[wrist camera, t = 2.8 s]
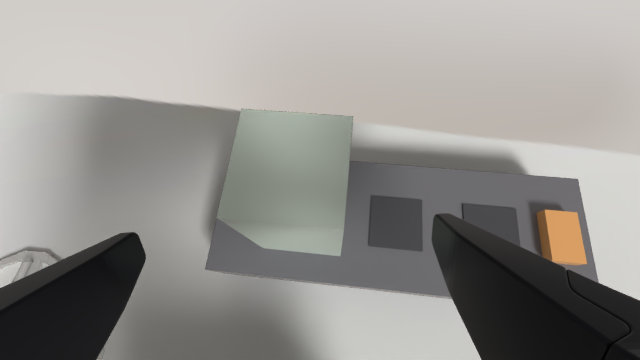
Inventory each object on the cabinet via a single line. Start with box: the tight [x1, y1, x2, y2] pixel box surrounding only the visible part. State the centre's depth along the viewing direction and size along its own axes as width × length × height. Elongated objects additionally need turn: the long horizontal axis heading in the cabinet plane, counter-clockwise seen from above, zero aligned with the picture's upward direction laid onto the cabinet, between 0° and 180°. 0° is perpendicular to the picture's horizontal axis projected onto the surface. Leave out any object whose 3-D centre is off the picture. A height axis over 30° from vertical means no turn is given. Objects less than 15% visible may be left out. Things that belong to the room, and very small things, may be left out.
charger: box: [216, 109, 353, 256], centre depth 15 cm, size 4×4×10 cm
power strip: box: [205, 161, 598, 299], centre depth 18 cm, size 20×7×4 cm, turn 84°
